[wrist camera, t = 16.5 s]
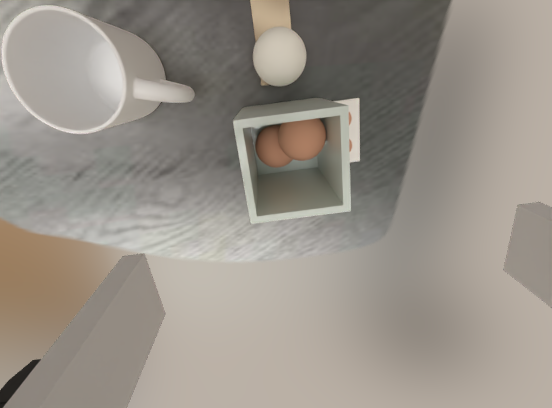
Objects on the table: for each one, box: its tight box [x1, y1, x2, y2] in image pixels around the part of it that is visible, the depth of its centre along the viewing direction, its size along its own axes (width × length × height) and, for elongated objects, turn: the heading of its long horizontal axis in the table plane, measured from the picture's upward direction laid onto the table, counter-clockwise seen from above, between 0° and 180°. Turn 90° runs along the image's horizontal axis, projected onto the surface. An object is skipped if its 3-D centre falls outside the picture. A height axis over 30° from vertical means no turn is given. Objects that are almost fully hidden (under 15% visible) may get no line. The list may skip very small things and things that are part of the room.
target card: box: [334, 98, 360, 162], centre depth 33 cm, size 7×4×1 cm, turn 7°
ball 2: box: [278, 118, 326, 161], centre depth 27 cm, size 4×4×4 cm
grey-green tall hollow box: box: [233, 97, 351, 224], centre depth 28 cm, size 8×8×12 cm
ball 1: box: [253, 27, 306, 86], centre depth 24 cm, size 4×4×4 cm
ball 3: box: [255, 125, 293, 168], centre depth 31 cm, size 4×4×4 cm
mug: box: [1, 5, 195, 134], centre depth 25 cm, size 12×8×10 cm
